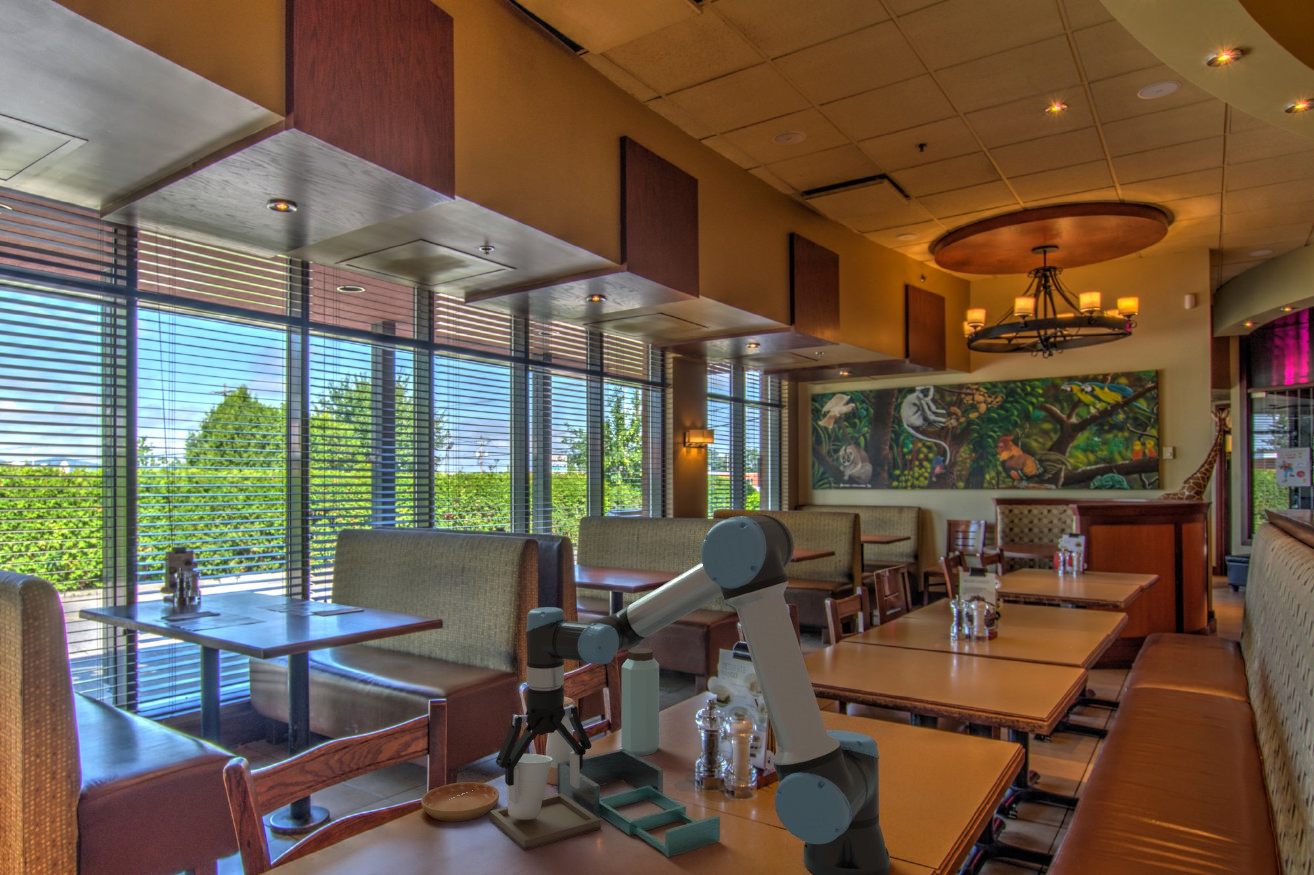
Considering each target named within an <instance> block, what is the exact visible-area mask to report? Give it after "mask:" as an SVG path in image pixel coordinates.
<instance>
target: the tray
mask: <svg viewBox="0 0 1314 875" xmlns="http://www.w3.org/2000/svg"><path fill="white" fill-rule="evenodd" d="M489 821H490V822H491V823H492V824H494V825H495V826H496V827H497V828H498V829H500V831H502V833H504V834H505V835H506V836H507V837H508V838H509V839H510V840H512V841H513V842H514V843H515V844H516V845H517V846H519V847H520V848H521V849H522V850H523V851H528V850H532V849H534V848H535V849H536V848H538V847H542V846H546V845H548V844H553V843H556V842H559V841H563V840H566V839H567V840H568V839H570V838H573V837H577V836H580V835H584V834H588V833H590V832H591V833H592V832H594V831H598V830H601V826H602V825H601V823H602V822H601V819H600V817H599V818H597V817H596V816H595V815H593V814H592V813H590V812H589V811H587V810H586V809H584V808H583V807H581V806H580V805H579V804H577V803H576V802H574V801H573V800H571V799H570V798H568V797H567V796H565V795H564V794H563V793H560V794H558V793H557V794H551V795H548V796H543V800H542V805H541V809H540V813H539V815H538V816H537V817H536V818H534V819H525V820H524V819H515V818H512V817H510V815H509V814H508V805H507V806H504V807H499V808H496V809H492V810H491V809H490V810H489Z"/></svg>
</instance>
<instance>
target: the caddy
mask: <svg viewBox="0 0 1314 875" xmlns="http://www.w3.org/2000/svg"><path fill="white" fill-rule="evenodd" d="M645 800H650V801H651V802H653V803H654V804H656V805H658V806H659V807H661V808H663V809H664V810H661V811H658V812H655V813H652V814H648V815H644V816H642V817H641V816H640V817H637V818H633V819H629V818H628V817H627V816H625V815H623V814H622V813H621V812H619V811H617V810H616V809H614V808H618V807H623V806H625V805H626V806H627V805H630V804H634V803H637V802H640V801H645ZM599 817H602V818H603V819H605V820H606V821H608V822H609V823H611V824H612V825H614V826H615V827H616V828H618V829H620V830H621V831H622V832H624V833H625V834H627V835H629V836H631V835H634V834H635V835H637V836H638V837H640V838H641V839H643V840H644V841H646V842H647V843H649V844H650V845H652V847H654V848H656V849H657V850H659V851H661V852H662V853H663V854H664V855H665V856H666V857H667V858H671V857H674V856H676V855H680V854H683V853H686V852H689V851H692V850H695V849H698V848H701V847H704V846H708V845H710V844H713V843H716V842H720V841H721V817H720V816H719V815H717V814H716V815H712V816H709V817H706V818H703V819H699V820H696V819H694V818H692V817H690V816H689V815H688V814H687V806H686V805H684V804H683V803H681V802H678V801H677V800H675V799H673V798H672V797H670V796H668V795H666V794H665V793H664V792H663V793H661V792H659V791H658V790H656V789H654V788H652V787H651V786H645V787H641V788H637V789H636V788H633V789H629V790H625V791H622V792H618V793H615V794H611V795H607V796H602V797H600V802H599ZM679 821H682V822H684V823H686V824H683V825H680V826H676V827H673V828H670V829H666V830H665V833H664V834H665V835H664V836H665V838H664V840H665V841H664V842H665V843H664V842H662V841H661V840H659V839H658V838H656V837H654V836H653V835H651V834H650V833H648V832H647V831H648V830H652V829H655V828H658V827H661V826H665V825H668V824H673V823H676V822H679Z"/></svg>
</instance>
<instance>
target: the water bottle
mask: <svg viewBox="0 0 1314 875" xmlns="http://www.w3.org/2000/svg"><path fill="white" fill-rule="evenodd" d="M620 723H621V734H620V735H621V736H620V737H621V740H620V741H621V744H620V745H621V749H625V750H627V751H629V752H631V753H632V754H634V755H636V756H648V755H651V754H655V753H656V752H657V750H658V749H659V747H660V663H659V662H658V661H657V659H655V657H654V650H653V649H651V648H645V647H637V648H636V647H634V648H629V649H628V650H627V659H626V660H625V662H623V664H622V665H621V722H620Z"/></svg>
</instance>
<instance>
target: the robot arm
mask: <svg viewBox="0 0 1314 875" xmlns="http://www.w3.org/2000/svg"><path fill="white" fill-rule="evenodd" d="M794 550H795V542H794V537H793V534H792V532H791V530H790V529H789V527H788V526H787V525H786V523H784V522H783V521H781V520H780V519H779V518H777V517H775V516H772V515H769V514H754V515H743V516H742V515H738V516H737V515H736V516H734V517H731V516H730V517H729V518H727V519H726V518H725V519H723V520H720V521H719V522H717V523H716V524H714V525H713V526H711V528H710V529H709V530H708V532H707V533H706V535H705V537H704V539H703V541H702V545H701V550H700V551H701V552H700V553H701V554H700V557H701V562H699V563H698V564H697V565H694V566H693V567H691V568H690V569H688V570H687V571H685V572H683V573H681V574H679V575H677V576H676V577H674V578H673V579H670V580H669V581H668V582H665V583H664V584H663V585H661V586H660V587H657V588H656V589H654V590H653V591H651V592H649V593H647V594H646V595H644V596H642V597H640V598H639V599H637V600H636V601H634V602H632V603H631V604H629V605H628V606H626V607H623V608H622V609H620V610H619V611H617V612H615V613H613V614H610V615H608V616H603V617H601V618H596V619H593V620H588V621H573V620H567V619H565V618H566V617H565V611H564V610H563V608H560V607H554V606H552V607H551V606H550V607H549V606H546V607H545V606H542V607H535V608H532V609H530V611H528V613H527V615H526V616H527V617H526V618H527V619H526V629H525V635H526V680H525V684H526V685H527V686H528V687H527V688H526V690H525V691H526V696H525V697H526V698H525V700H526V701H525V702H526V703H525V705H526V712H525V714H521V715H520V714H519V715H518V714H516V713H513V714H512V715H511V718H510V719H511V720H510V726H509V728H508V730H507V734H506V736H505V738H504V741H503V742H502V745H501V748H500V750H499V751H498V755H497V757H496V759H495V764H496V765H497V766H499V767H500V768H501V769H504V774H505V775H504V776H505V777H504V781H505V784H506V785H508V786H509V799H510V800H511V801H512V802H513V803H515V804H516V803H518V786H519V769H518V768H517V767H515V766H516V765H517V763H518V762H519V760H520V758H521V757H522V755H523V754H525V752H526V751H527V749H528V748H529V746H530V744H531V743H532V742H533V741H534V740H535V739H536V738H537V736H538V735H540V736H544V735H546V734H548V733H554V731H555V730H557V731H558V732H559V734H560V735H561V736H562V737H563V738H564V739H565V741H566V742H567V743H568V744H569V745H570V746H571V747H572V749H573V750H574V752H570V785H572V786H573V787H575V788H579V769H582V767H583V758H584V755H585V754H586V752H587V750H590V749H591V748H592V743H591V741H590V739H589V738H590V737H589V736H588V735H587V733H586V732H587V731H586V730H585V728H584V726H583V723H582V721H581V720H580V717H579V707H578V706H574V705H572V704H568V705H567V707H563V703H564V697H565V687H564V686H563V684H564V683H565V660H567V661H568V660H569V661H574V662H582V663H587V664H590V665H596V664H597V665H598V664H599V665H606V664H609V663H611V662H612V661H613V659H614V658H615V657H616V656H617V654H618V652H621V651H624V650H629V649H633V648H635V647H636V646H638V645H639V644H641V643H642V642H644V640H645V639H647V638H648V637H650V636H652V635H653V634H655V633H657V632H659V631H660V630H662V629H664V628H666V627H667V626H669V625H672V624H673V623H675V622H677V621H678V620H680V619H682V618H684V617H685V616H688V615H689V614H691V613H693V612H694V611H696V610H698V609H700V608H702V607H704V606H705V605H707V604H709V603H710V602H713V601H714V600H716V599H718V598H719V597H721V596H723V600H724V602H725V603H726V604H728V605H729V606H731V607H733V608H735V610H736V613H737V616H738V619H739V623H740V627H741V629H742V633H743V636H744V638H745V643H746V645H747V650H748V652H749V656H750V659H751V663H752V666H753V669H754V672H755V675H756V679H757V682H758V685H759V689H760V692H761V695H762V697H763V698H762V700H763V702H764V705H765V708H766V712H767V714H768V717H769V718H768V719H769V721H770V725H771V729H772V731H773V734H774V738H775V741H776V746H777V750H776V753H775V754H774V756H773V758H772V763H773V766H774V768H775V773H776V776H777V779H778V785H777V788H776V790H775V794H774V808H775V812H776V814H777V817H778V819H779V822H780V823H781V825H782V826H783V827H784V828H785V829H786V830H787V831H788V832H789V833H790V834H791V835H792V836H795V837H796V838H797V839H799V840H800V841H802V842H804V845H803V850H802V851H803V864H804V866H805V868H806V869H807V870H808V871H809V872H811V873H812V874H813V875H889V874H890V873H891V872H890V871H891V856H890V853H889V849H888V848H887V847H886V844H885V839H884V834H883V832H882V828H881V825H880V788H879V786H880V784H879V781H880V778H879V775H880V774H879V772H880V770H879V764H880V763H879V762H880V761H879V759H880V755H879V747H878V746H879V745H878V743H877V741H876V740H875V738H874V737H872V736H869V735H866V734H863V733H860V732H856V731H855V732H854V731H850V730H849V731H847V730H839V729H837V730H836V729H835V730H834V729H826V726H825V722H824V720H823V719H824V718H823V716H822V712H821V710H820V707H819V703H818V699H817V697H816V694H815V691H814V688H813V685H812V682H811V678H810V675H809V672H808V670H807V669H808V668H807V665H806V662H805V660H804V656H803V653H802V648H801V647H800V643H799V641H798V640H799V639H798V637H797V634H796V631H795V628H794V625H793V622H792V618H791V615H790V612H789V609H788V606H787V602H786V599H785V596H784V594H785V591H786V588H787V587H788V585H789V579H788V577H787V576H788V575H787V574H786V571H785V569H786V568H787V567H788V566H789V564H790V563H791V561H792V559H793V557H794ZM565 714H566V716H567V717H568V718H569V720H570V722H571V724H572V730H573V731H574V733H575V735H576V737H577V739H578V741H577V739H575V737H574V735H573V736H572V735H571V734H570V733H569V731H568V730H567V728H566V727H565V726H564V725H563V724H562V722H561V721H562V719H563V717H564V716H565ZM525 723H527V724H526V726H525ZM524 726H525V728H524V730H523V731H522V728H523V727H524ZM521 731H522V735H521V736H520V738H519V735H520V733H521ZM518 738H519V739H518ZM517 740H518V741H517Z"/></svg>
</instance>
